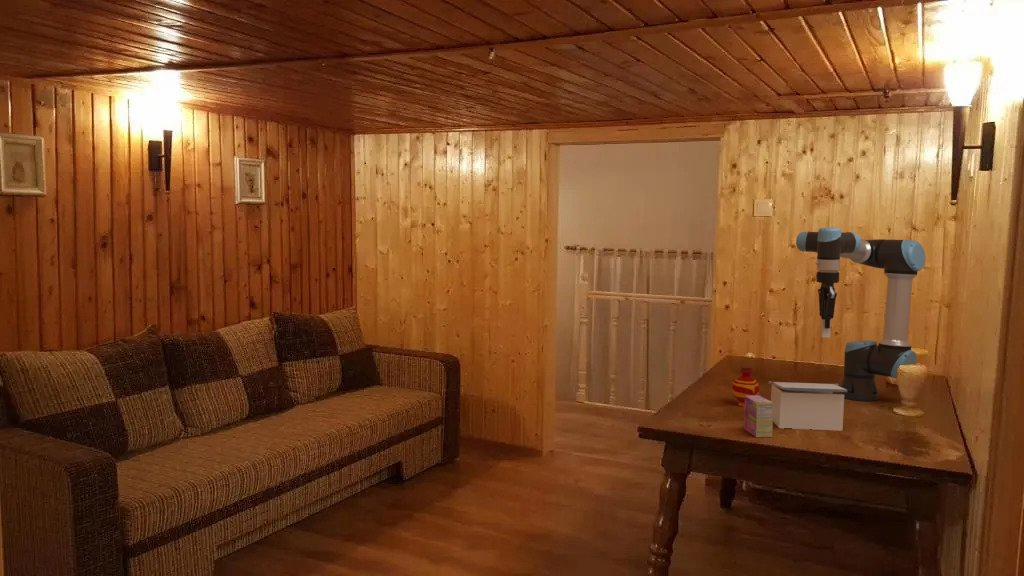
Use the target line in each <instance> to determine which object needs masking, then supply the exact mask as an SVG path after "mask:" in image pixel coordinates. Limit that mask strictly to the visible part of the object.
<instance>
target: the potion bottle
mask: <svg viewBox="0 0 1024 576" xmlns="http://www.w3.org/2000/svg"><path fill="white" fill-rule="evenodd" d="M740 367H741V369H740V372H741V373H742V375H741V376H739V377H738V378H735V380H733V381H732V382H731V384H732V386H731V387H730V389H731V393H732V394H733V396H734V397H735V398H736V399H737V400H738V401H739V402H738V403H737V405H738V407H744V408H745V396H760V385H759V383H758V382H757V379H756V378H754V377H752V376H751V374H752V373H753V370H752V369H753V367H752V366H750V365H749V366H748V365H741V366H740Z"/></svg>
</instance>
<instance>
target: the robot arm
mask: <svg viewBox="0 0 1024 576" xmlns="http://www.w3.org/2000/svg"><path fill="white" fill-rule="evenodd" d="M795 244H796V248H797V249H798V250H799V251H801V252H805V253H809V252H811V253H815V254H817V257H816V262H815V265H816V270H817V271H816V274H815V275H816V277H815V281H816V282H817V283H820V287H819V288H818V289H817V292H818V306H819V307H818V309H819V311H818V312H819V316H820V318H821V323H820V324H821V327H820V329H821V330H820V331H821V332H820V336H821V338H831V327H832V326H831V325H832V324H831V323H832V322H831V321H832V319H834V317H835V308H836V298H837V295H838V293H837V292H835V291H836V288H835V284H837V283H839V282H840V272H839V271H840V270H841V258H844V259H848V260H850V261H851V262H853V263H855V264H860V265H862V266H867V267H871V268H874V269H875V268H876V269H883V270H884V271H883V274H884V276H886V277H887V285H886V286H887V287H886V298H885V311H884V323H883V335H882V339H880V340H879V341H878V342H877V341H875V340H855V341H854V340H853V341H849V342H846V344H845V348H844V361H843V362H844V363H843V377H842V380H841V382H840V384H839V387H842V388H844V389H847V392H837V394H844V399H848V400H854V401H861V402H862V401H863V402H864V401H865V402H866V401H867V402H868V401H869V402H870V401H871V402H873V401H878V400H879V390H878V387H877V384H876V380H875V379H876V378H875V377H876V376H882V377H887V378H892V379H898V378H897V373H898V372H897V369H898V368H899V366H900V365H906V364H916V365H917V363H918V357H917V353H916V351H914V350H913V349H912V343H910V341H908V339H909V324H910V314H911V302H912V301H911V300H912V291H913V290H912V289H913V280H914V279H915V278H916V277H917V276H918V273H919V272H920V271H922V270H923V268H924V266H925V265H926V264H925V263H926V253H925V252H926V251H925V249H924V247H923V246H922V244H921V243H920V242H919V241H917V240H911V239H884V238H883V239H882V238H877V239H863V238H861V236H860V235H859V234H858V233H856V232H851V231H846V232H844V231H843V232H842V229H841V228H840V227H820V228H819V229H818V231H808V230H807V231H801V232H800V233H798V235H797V236H796V241H795Z"/></svg>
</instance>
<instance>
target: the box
mask: <svg viewBox="0 0 1024 576" xmlns="http://www.w3.org/2000/svg"><path fill="white" fill-rule="evenodd" d="M743 415H744V416H743V417H744V420H743V422H744V423H743V430H744V431H746V432H747V433H749V434H751V435H752V436H753V437H755V438H772V437H773V424H774V422H773V402H771V400H769V399H767V398H765V397H764V396H762V395H758V396H745V407H744V414H743Z"/></svg>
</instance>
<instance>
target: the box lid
mask: <svg viewBox="0 0 1024 576" xmlns="http://www.w3.org/2000/svg"><path fill="white" fill-rule="evenodd" d="M834 384H835V383H811V382H786V381H785V382H784V381H782V382H781V381H772V385H775V386H777V387H779V388H781V389H783V390H797V391H826V392H833V393H838V392H847V389H844V388H842V387H840V385H839V386H837V385H834Z"/></svg>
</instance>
